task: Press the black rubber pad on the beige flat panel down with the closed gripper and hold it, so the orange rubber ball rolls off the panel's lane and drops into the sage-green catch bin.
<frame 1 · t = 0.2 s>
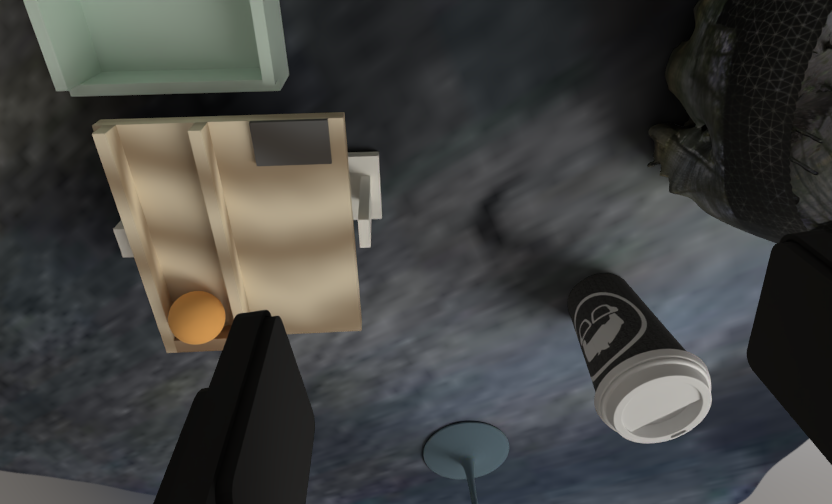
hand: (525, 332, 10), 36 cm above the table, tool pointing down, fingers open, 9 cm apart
orange ball: (197, 317, 41), point 11 cm above the table, touching beige flat panel
lever stand: (266, 187, 47), on the table
beige flat panel: (243, 242, 40), point 9 cm above the table, hinge at 0.0°, touching orange ball
cocktail glass: (465, 449, 68), on the table
coffee cup: (597, 297, 56), on the table
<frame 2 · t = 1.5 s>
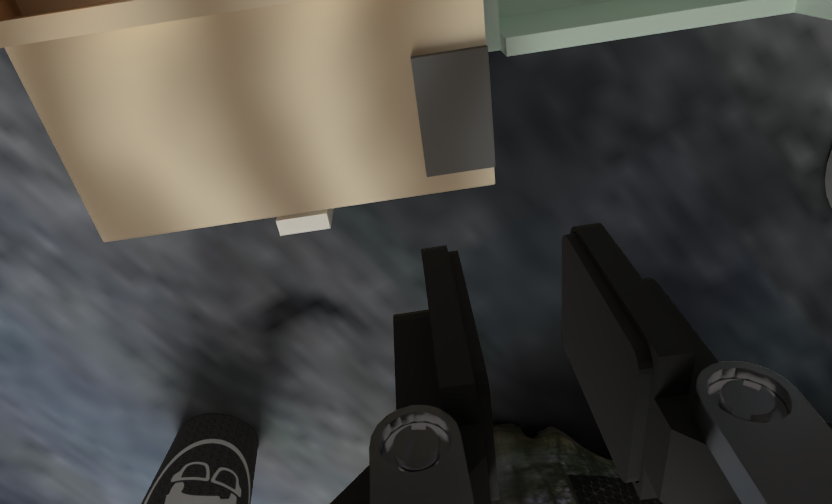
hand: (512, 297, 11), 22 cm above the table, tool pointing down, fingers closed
beige flat panel: (243, 27, 20), point 9 cm above the table, hinge at 0.0°, touching orange ball
basket: (547, 499, 53), on the table
coffee cup: (219, 438, 45), on the table
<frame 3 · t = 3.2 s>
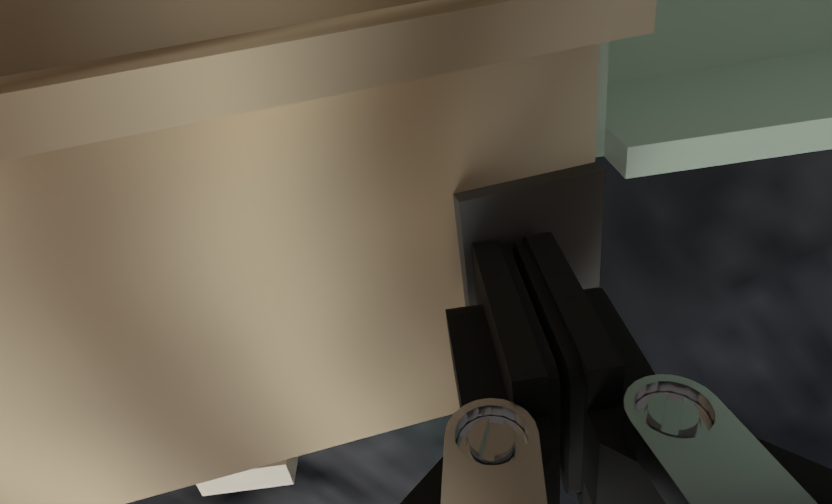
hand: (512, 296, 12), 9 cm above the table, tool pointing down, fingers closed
lever stand: (221, 51, 17), on the table
beige flat panel: (85, 167, 9), point 9 cm above the table, hinge at 10.0°, touching gripper, orange ball
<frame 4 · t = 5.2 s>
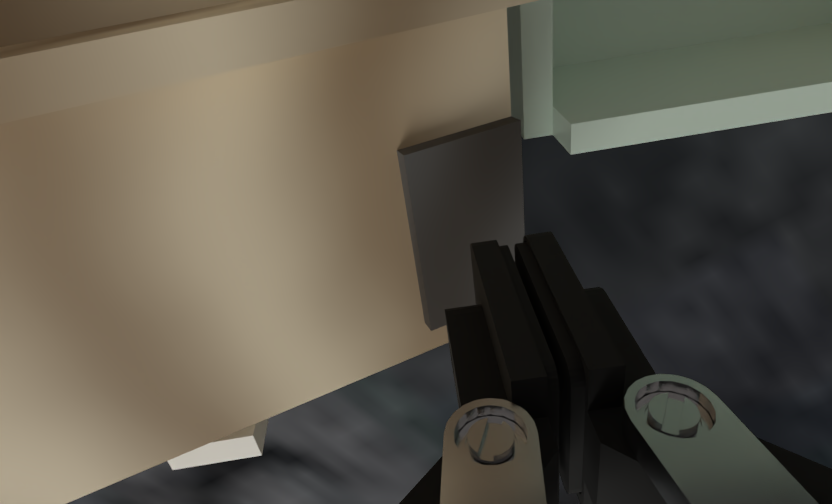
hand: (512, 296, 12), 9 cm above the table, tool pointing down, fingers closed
lever stand: (183, 39, 17), on the table
beige flat panel: (58, 139, 9), point 9 cm above the table, hinge at 19.4°
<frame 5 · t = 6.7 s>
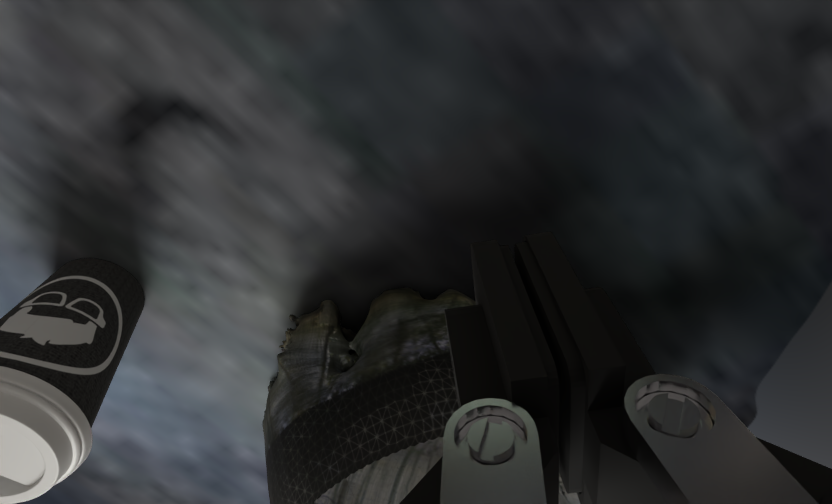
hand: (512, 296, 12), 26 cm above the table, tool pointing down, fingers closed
basket: (469, 384, 50), on the table
coffee cup: (100, 292, 42), on the table
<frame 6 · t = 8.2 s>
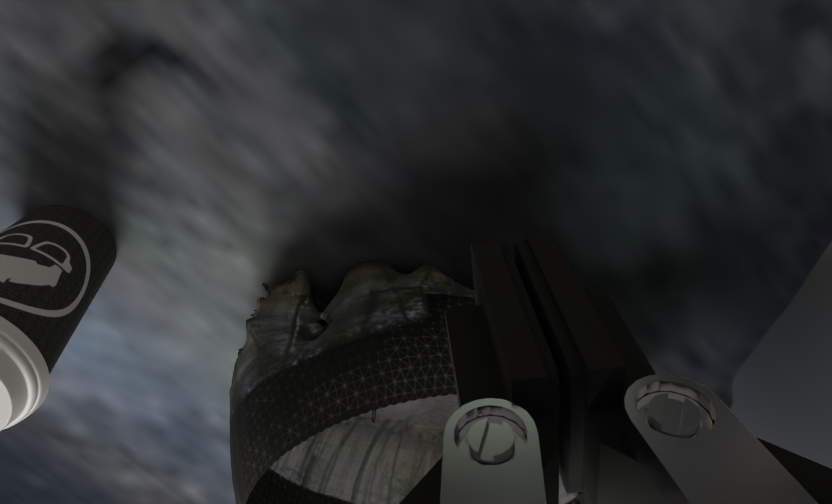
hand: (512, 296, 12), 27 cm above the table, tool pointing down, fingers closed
basket: (442, 365, 49), on the table
coffee cup: (71, 242, 41), on the table
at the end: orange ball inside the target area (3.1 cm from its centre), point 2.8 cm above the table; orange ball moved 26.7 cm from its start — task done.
